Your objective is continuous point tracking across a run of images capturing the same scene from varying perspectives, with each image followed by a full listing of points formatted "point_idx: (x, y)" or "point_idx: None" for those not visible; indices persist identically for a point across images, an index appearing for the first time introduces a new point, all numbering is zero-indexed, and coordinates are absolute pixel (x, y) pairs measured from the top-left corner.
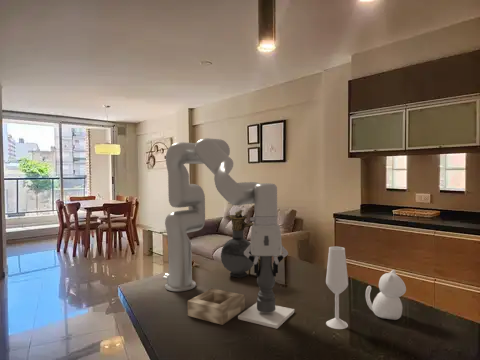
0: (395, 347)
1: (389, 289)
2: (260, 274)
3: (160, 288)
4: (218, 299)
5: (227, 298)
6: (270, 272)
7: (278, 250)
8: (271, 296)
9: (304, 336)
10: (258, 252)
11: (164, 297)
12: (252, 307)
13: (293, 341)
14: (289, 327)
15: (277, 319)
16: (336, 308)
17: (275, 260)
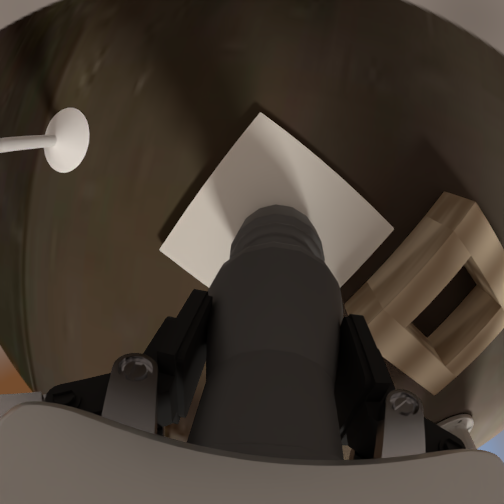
0: (21, 39)
1: None
2: (333, 316)
3: (475, 423)
4: (428, 344)
5: (413, 332)
6: (240, 305)
7: (7, 465)
8: (254, 230)
9: (179, 54)
10: (446, 501)
11: (493, 385)
12: None
13: (227, 26)
14: (211, 119)
15: (245, 165)
16: (31, 136)
17: (143, 393)
